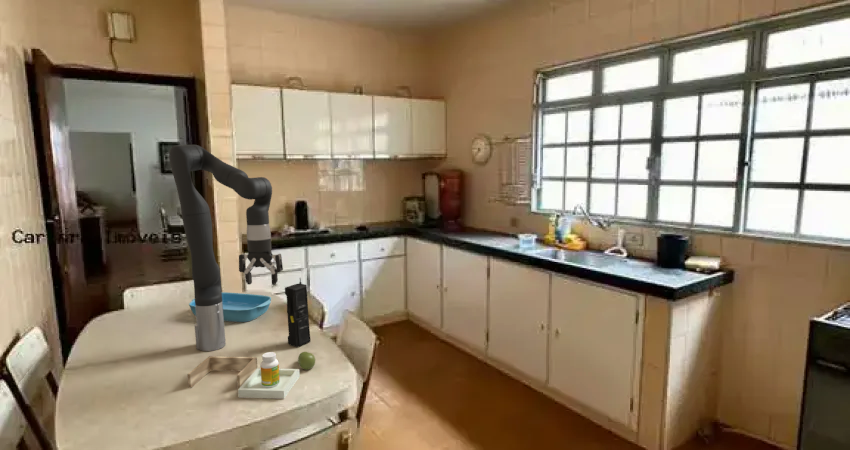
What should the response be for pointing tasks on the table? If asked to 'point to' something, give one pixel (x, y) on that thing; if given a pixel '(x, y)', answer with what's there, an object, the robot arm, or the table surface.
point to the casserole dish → (241, 306)
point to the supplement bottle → (269, 370)
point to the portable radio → (297, 314)
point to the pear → (306, 360)
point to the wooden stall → (224, 368)
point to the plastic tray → (256, 390)
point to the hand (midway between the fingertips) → (261, 284)
